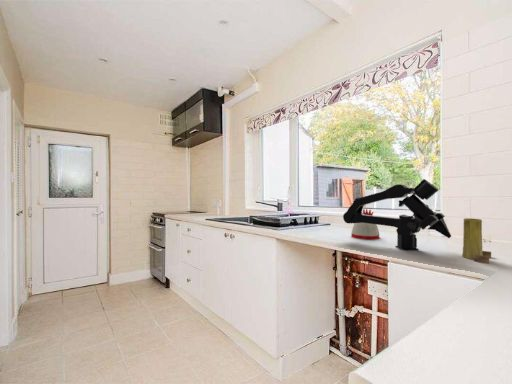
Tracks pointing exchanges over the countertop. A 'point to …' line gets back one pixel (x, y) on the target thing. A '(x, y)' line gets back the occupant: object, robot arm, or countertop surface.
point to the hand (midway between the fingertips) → (450, 237)
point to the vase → (472, 238)
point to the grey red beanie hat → (365, 229)
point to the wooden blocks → (483, 257)
